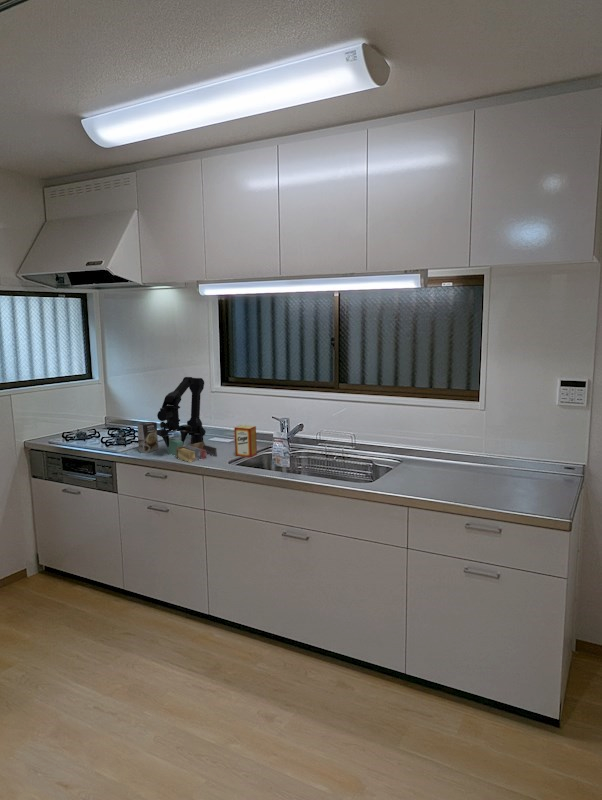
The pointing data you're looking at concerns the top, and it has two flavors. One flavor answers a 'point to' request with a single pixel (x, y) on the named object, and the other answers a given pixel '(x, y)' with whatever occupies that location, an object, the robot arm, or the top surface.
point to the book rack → (195, 451)
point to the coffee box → (147, 437)
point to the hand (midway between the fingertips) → (175, 445)
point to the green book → (174, 446)
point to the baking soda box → (245, 441)
